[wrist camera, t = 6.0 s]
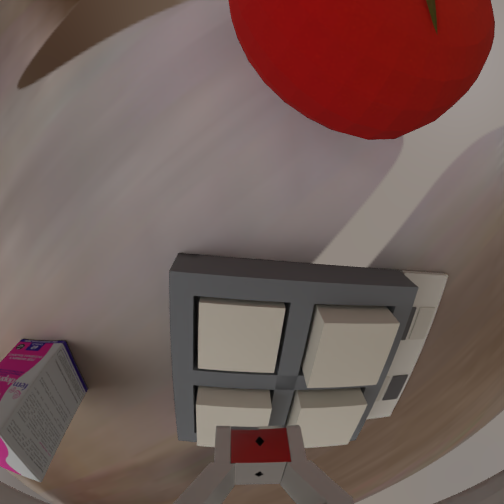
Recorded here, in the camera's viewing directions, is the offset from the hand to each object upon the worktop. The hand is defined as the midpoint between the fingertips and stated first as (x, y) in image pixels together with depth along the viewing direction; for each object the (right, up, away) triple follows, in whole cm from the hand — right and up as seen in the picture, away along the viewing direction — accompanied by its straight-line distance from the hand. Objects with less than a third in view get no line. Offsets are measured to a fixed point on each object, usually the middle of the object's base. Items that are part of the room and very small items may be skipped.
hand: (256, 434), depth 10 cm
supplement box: (-18, -3, +13) cm, 23 cm away
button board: (+4, -2, +13) cm, 14 cm away
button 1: (+5, -6, +12) cm, 15 cm away
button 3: (-2, -5, +12) cm, 13 cm away
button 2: (+6, +1, +10) cm, 12 cm away
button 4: (-1, +2, +11) cm, 11 cm away
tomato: (+4, +19, +6) cm, 21 cm away
